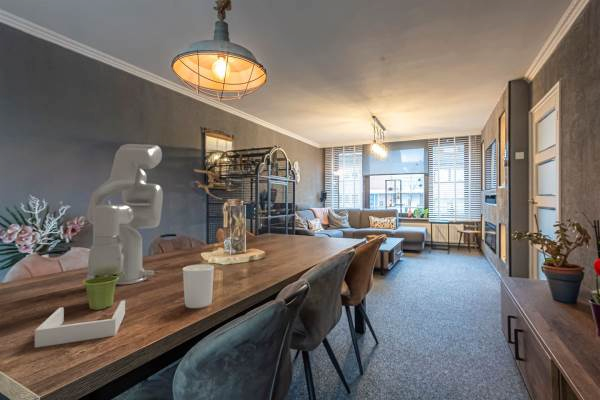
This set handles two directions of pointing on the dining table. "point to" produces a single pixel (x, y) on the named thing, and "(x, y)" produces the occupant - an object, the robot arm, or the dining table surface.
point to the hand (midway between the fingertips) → (106, 294)
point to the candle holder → (198, 285)
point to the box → (76, 328)
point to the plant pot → (100, 291)
